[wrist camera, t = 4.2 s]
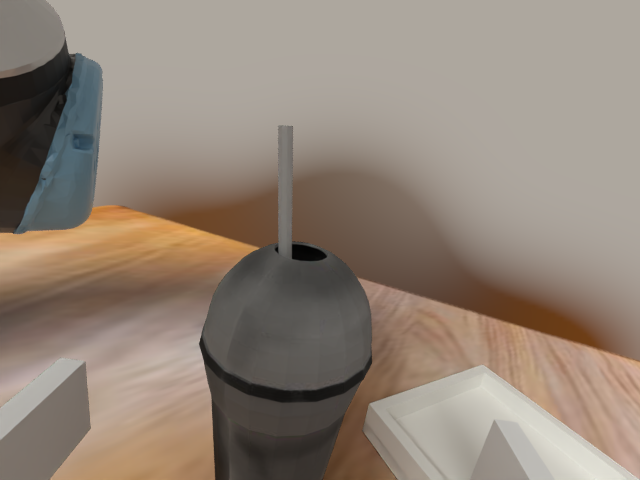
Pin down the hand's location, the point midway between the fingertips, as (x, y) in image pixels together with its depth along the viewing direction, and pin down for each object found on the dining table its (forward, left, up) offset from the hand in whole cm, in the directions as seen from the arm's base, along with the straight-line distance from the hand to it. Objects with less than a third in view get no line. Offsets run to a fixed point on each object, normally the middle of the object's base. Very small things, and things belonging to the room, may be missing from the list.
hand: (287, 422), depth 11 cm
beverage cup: (-4, +2, -11) cm, 12 cm away
